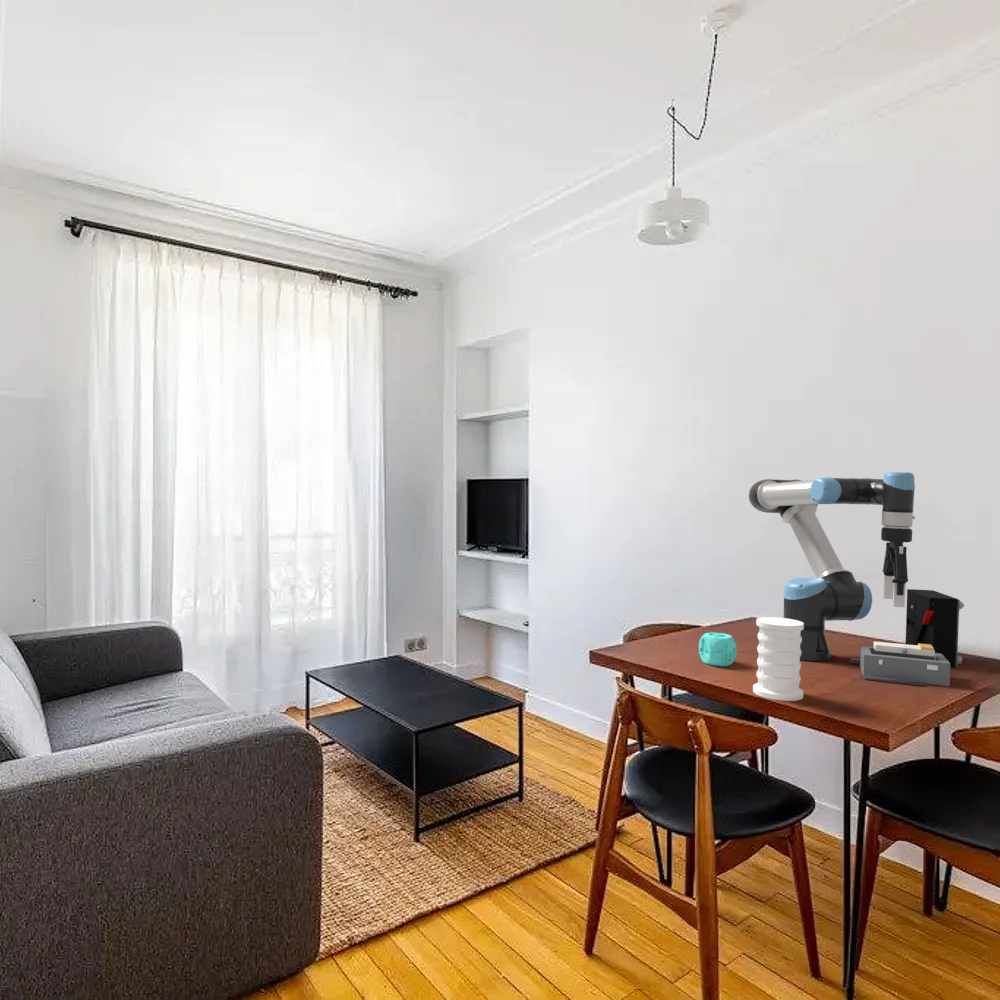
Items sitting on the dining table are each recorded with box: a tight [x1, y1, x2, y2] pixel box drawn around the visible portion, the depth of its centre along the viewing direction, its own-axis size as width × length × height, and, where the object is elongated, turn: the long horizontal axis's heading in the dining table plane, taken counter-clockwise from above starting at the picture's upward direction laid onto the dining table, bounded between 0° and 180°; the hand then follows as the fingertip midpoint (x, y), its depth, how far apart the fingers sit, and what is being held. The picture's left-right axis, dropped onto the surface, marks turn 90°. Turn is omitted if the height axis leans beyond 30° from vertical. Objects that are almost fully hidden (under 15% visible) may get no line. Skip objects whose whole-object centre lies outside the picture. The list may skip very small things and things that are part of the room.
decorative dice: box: [698, 632, 738, 667], centre depth 201 cm, size 8×8×8 cm
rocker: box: [873, 641, 935, 657], centre depth 190 cm, size 14×6×2 cm, turn 67°
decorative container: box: [752, 616, 804, 702], centre depth 171 cm, size 12×12×18 cm
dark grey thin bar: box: [863, 676, 926, 687], centre depth 183 cm, size 14×1×1 cm, turn 67°
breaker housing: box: [859, 645, 951, 687], centre depth 190 cm, size 20×12×6 cm, turn 67°
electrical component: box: [905, 588, 965, 668], centre depth 209 cm, size 18×10×20 cm, turn 168°
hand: (893, 602), depth 194 cm, fingers open, 13 cm apart
